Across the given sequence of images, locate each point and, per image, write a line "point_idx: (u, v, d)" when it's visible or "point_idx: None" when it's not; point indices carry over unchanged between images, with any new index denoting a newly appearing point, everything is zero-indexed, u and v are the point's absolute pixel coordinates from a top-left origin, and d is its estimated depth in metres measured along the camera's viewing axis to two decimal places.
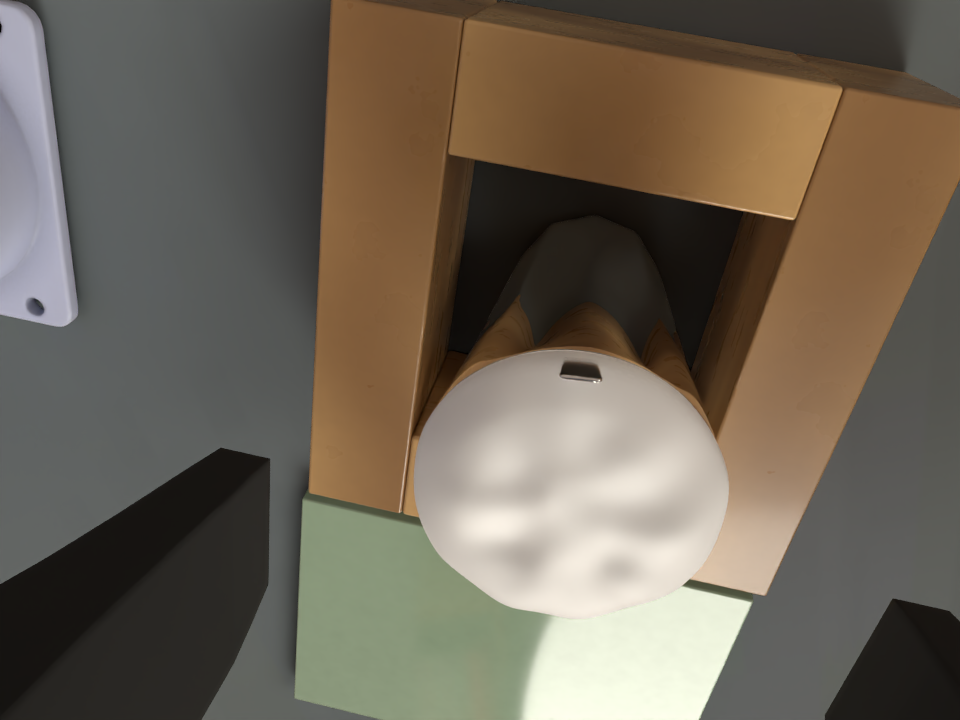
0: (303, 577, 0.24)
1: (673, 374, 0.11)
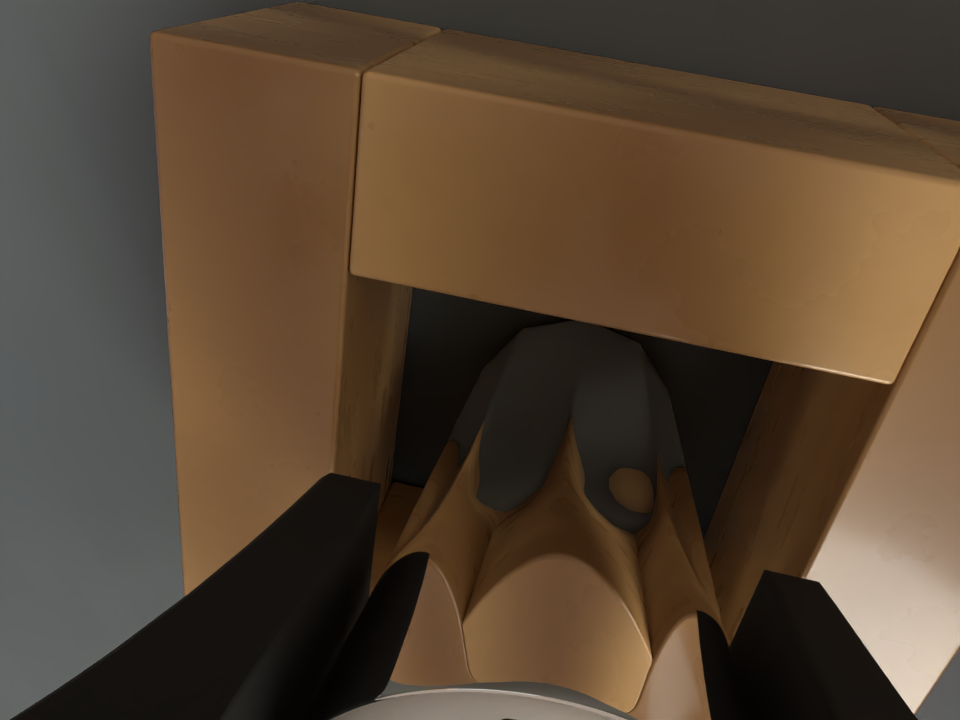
0: None
1: (701, 710, 0.06)
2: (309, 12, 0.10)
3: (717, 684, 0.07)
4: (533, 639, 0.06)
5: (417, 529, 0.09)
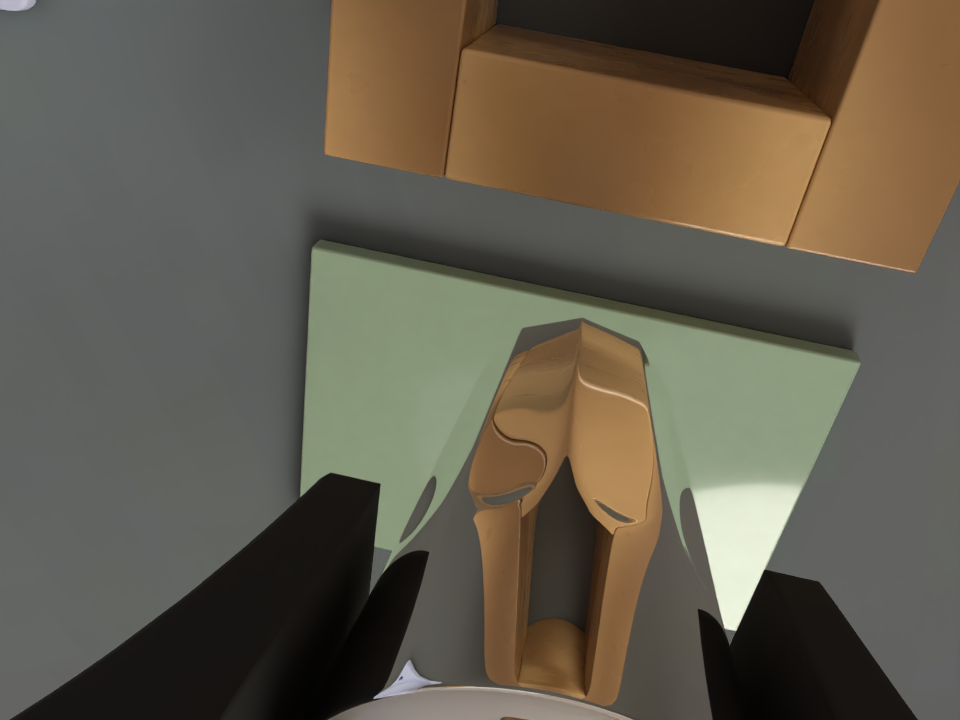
0: (311, 359, 0.20)
1: (702, 709, 0.06)
2: None
3: (718, 683, 0.07)
4: (534, 637, 0.06)
5: (417, 528, 0.09)
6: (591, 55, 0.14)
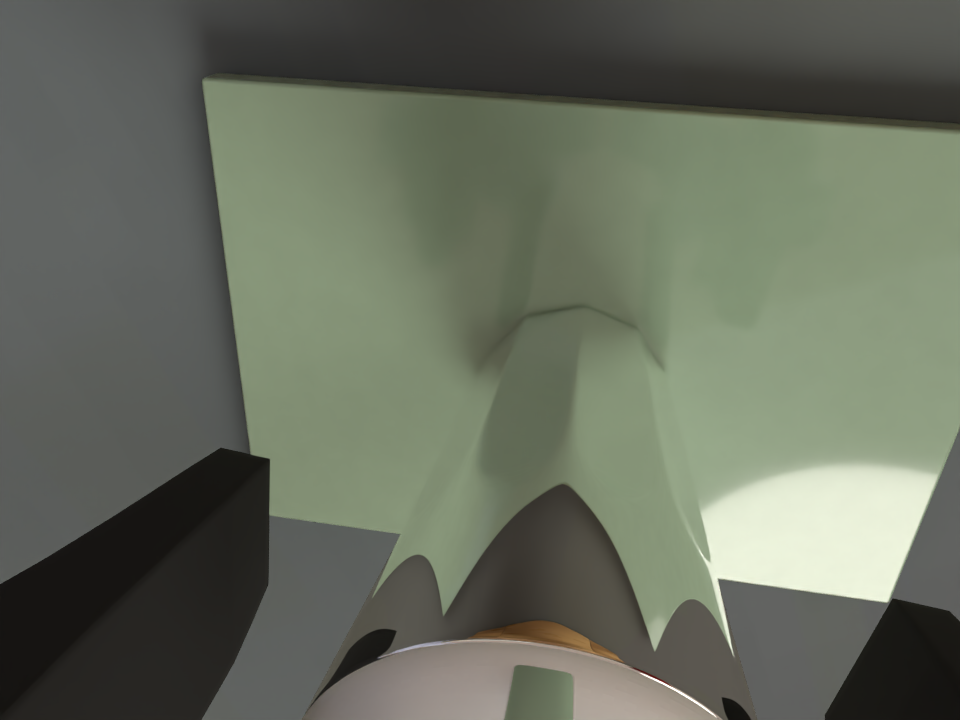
0: (232, 260, 0.14)
1: (701, 662, 0.07)
2: None
3: (716, 641, 0.07)
4: (543, 596, 0.07)
5: (428, 503, 0.09)
6: None
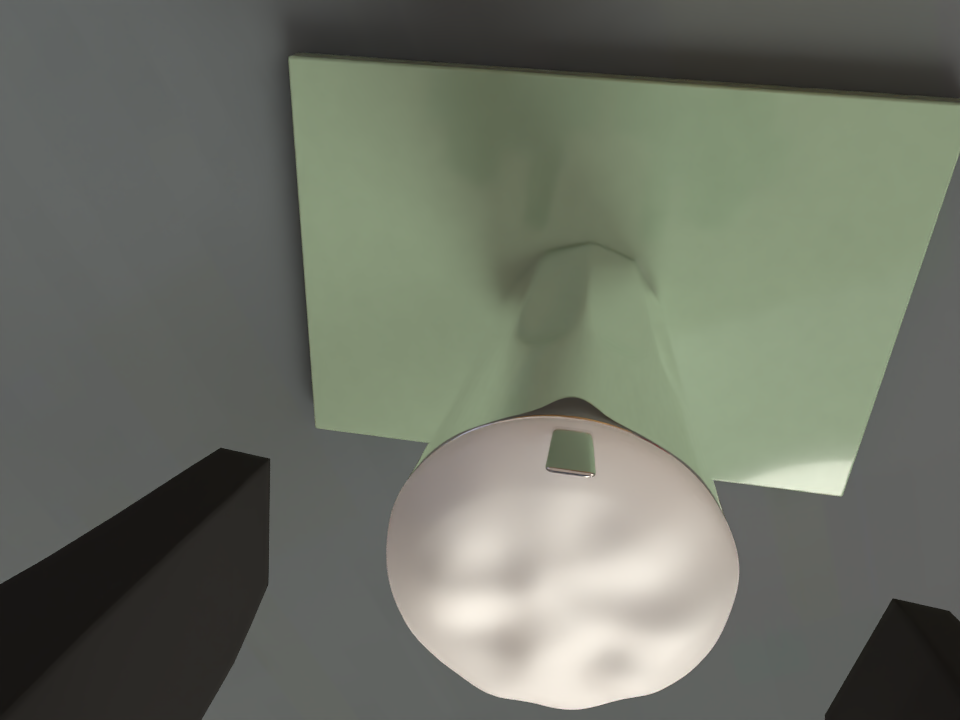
0: (304, 207, 0.17)
1: (677, 441, 0.10)
2: None
3: (688, 438, 0.10)
4: (570, 396, 0.10)
5: (478, 370, 0.12)
6: None
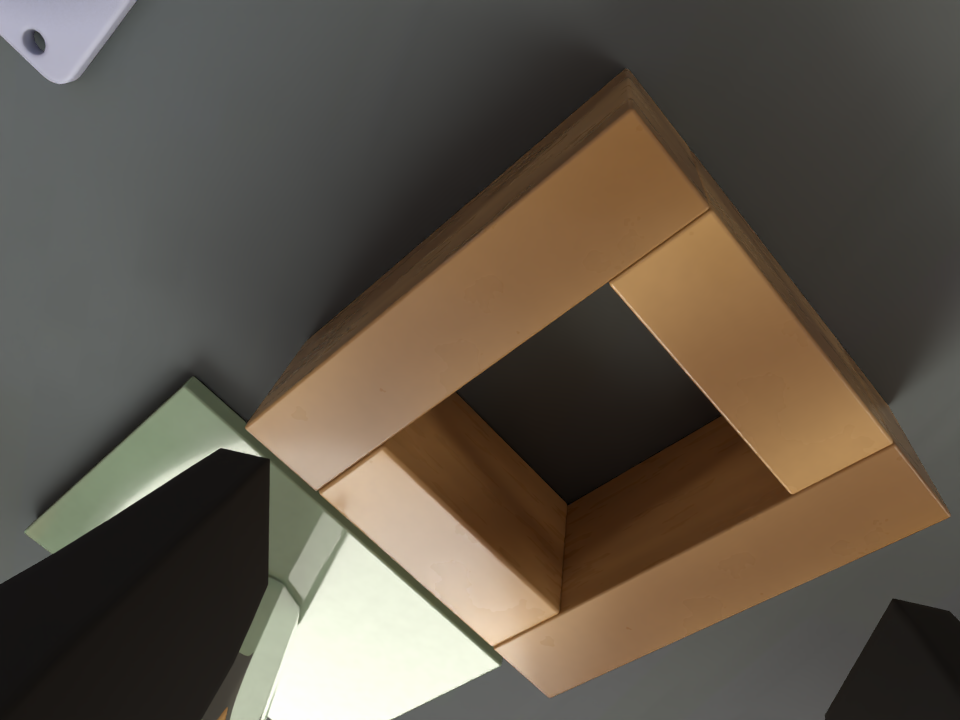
0: (126, 445, 0.22)
1: None
2: (645, 96, 0.15)
3: None
4: None
5: None
6: (461, 456, 0.19)
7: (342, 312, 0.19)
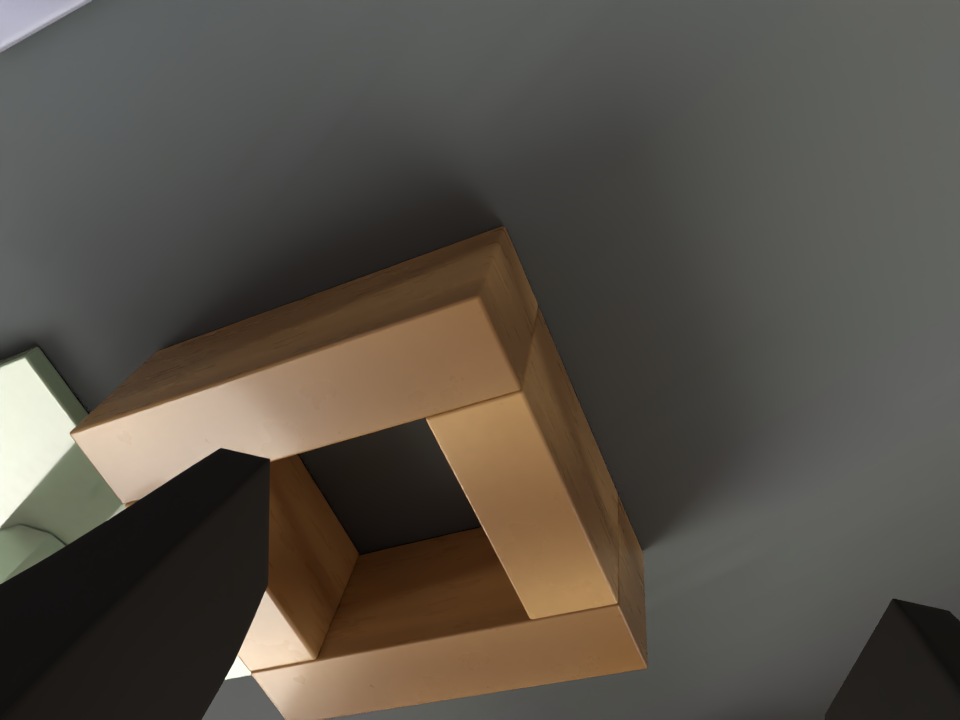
0: None
1: None
2: (509, 260, 0.17)
3: None
4: None
5: None
6: (270, 500, 0.20)
7: (198, 339, 0.20)
